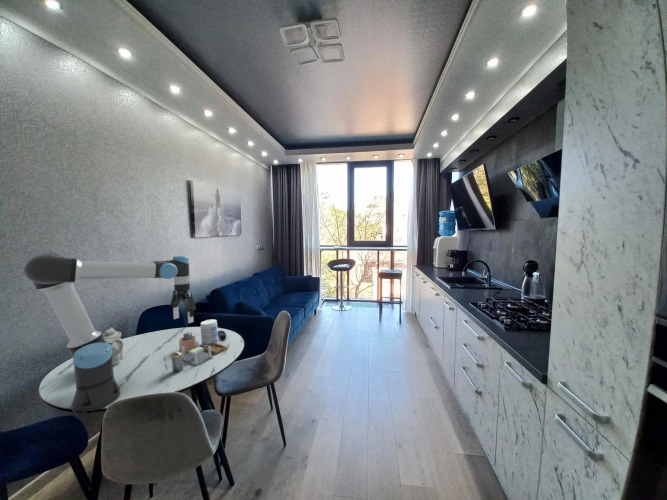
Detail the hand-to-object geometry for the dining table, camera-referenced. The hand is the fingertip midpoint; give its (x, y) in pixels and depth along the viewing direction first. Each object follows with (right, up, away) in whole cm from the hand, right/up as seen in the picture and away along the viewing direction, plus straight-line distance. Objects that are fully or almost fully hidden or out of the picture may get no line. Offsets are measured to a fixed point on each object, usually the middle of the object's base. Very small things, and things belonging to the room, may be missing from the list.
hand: (183, 320), depth 142 cm
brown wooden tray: (+13, -21, +11) cm, 27 cm away
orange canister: (-4, -21, +11) cm, 24 cm away
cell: (+4, -23, -12) cm, 26 cm away
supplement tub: (+6, -21, +19) cm, 29 cm away
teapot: (-37, -23, -6) cm, 44 cm away
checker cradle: (+8, -22, 0) cm, 23 cm away
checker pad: (+8, -18, -1) cm, 19 cm away
